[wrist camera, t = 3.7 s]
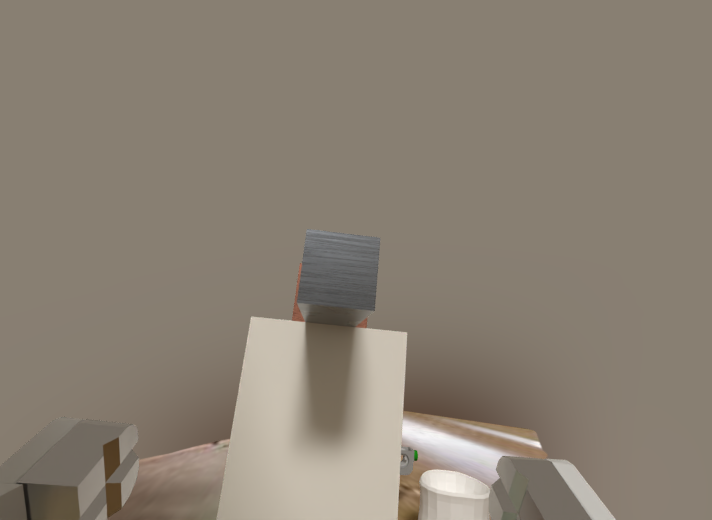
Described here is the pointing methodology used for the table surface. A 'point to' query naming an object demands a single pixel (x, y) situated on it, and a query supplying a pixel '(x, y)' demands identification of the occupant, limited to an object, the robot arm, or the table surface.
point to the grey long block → (337, 279)
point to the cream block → (316, 424)
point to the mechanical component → (407, 460)
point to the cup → (452, 497)
